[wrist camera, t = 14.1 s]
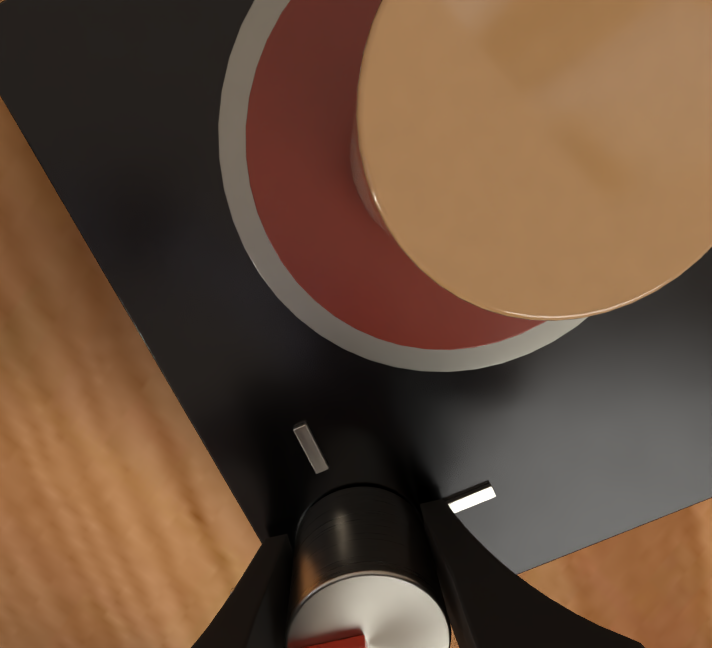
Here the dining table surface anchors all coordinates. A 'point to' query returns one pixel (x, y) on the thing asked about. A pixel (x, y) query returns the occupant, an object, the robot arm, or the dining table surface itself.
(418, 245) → the cream jar
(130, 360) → the dining table surface
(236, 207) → the burner
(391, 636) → the dial
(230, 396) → the hot plate
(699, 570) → the dining table surface
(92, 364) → the dining table surface
